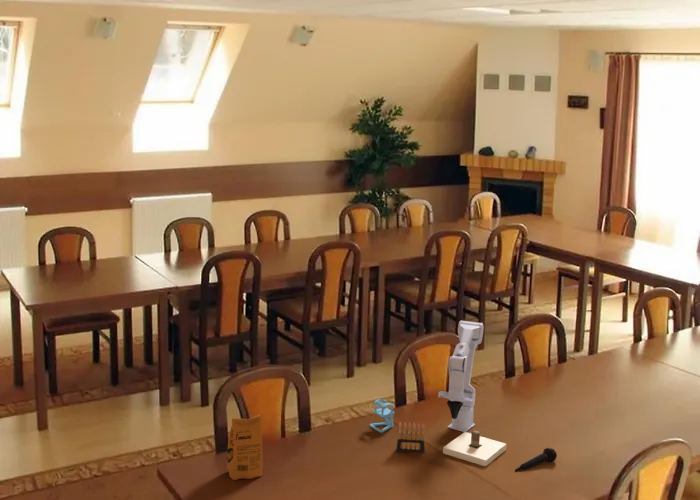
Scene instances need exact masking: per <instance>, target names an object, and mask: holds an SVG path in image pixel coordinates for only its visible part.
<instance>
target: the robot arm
mask: <svg viewBox="0 0 700 500" xmlns="http://www.w3.org/2000/svg"><path fill="white" fill-rule="evenodd" d="M484 328H485V327H484V324H483V322H475V321H467V320H460V321H459V322H458V327H457V335H458V339H459V343H457V344H456V345H455V346H454V347H455V348H454V351H453V353H452V356H450V357H449V359H448V375H449V381H448V383H449V384H448V391H442V390H440V391H438V395H437V397H438V398H443V399H446V400H447V402H446V404H447V406H448V408H449V411H450V417H451V423H450V424H449V425H448V426H447V428H449V429H451V430H455V431H458V432H462V433H464V432H467V431H469V430H470V429H472V428H473V427H474V426H475V425H476V424H475V423H474V413H475V411H474V410H475V409H474V407H475V403H476V402H475V401H476V389H475V388H474V386H472V385H471V379H472V373H473V366H474V365H473V364H474V359H475V352H476V348H477V346H478V345H480V344H482V341H483V335H484Z"/></svg>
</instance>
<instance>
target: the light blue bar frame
mask: <svg viewBox="0 0 700 500" xmlns="http://www.w3.org/2000/svg"><path fill="white" fill-rule="evenodd" d="M373 404H374V409H372V413H374V414H375V415H378V416H379V417H380V418H384V420H385V422H375V423H369V427H370V428H372V429H373V430H375V431H377V432H378V433H380V434H383V433H384V432H386V431H387V430H389V429H391V428H393V427H394V415H395V412H396V411H394V410H393V409H394V407H395V404H394V403H390V402H387V399H384V398H383V399H382V398H378V399H376V400H374V402H373ZM378 407H379V408H378ZM388 407H391V408H388ZM379 426H386V427H384V428H382V429H380V428H378V427H379Z"/></svg>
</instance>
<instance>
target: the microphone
mask: <svg viewBox="0 0 700 500" xmlns="http://www.w3.org/2000/svg"><path fill="white" fill-rule="evenodd" d="M557 457H558V455H557V452H556V450H555V449H554V448H552V447H545V448H544V449H543V452H542V453H541V454H538V455H537V456H536V455H535V457H533V458H531V459H529V460H526V461H525V462H524V463H522V464H521V465H519V466H518V467H517V468H515V469H514V472H520V471H523V470H524V471H526V470H527V469H530V468H534V467H535V466H538V465H541V464H544V463H550V462H551V464H552V463H554V462H555V461H556V459H557Z"/></svg>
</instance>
